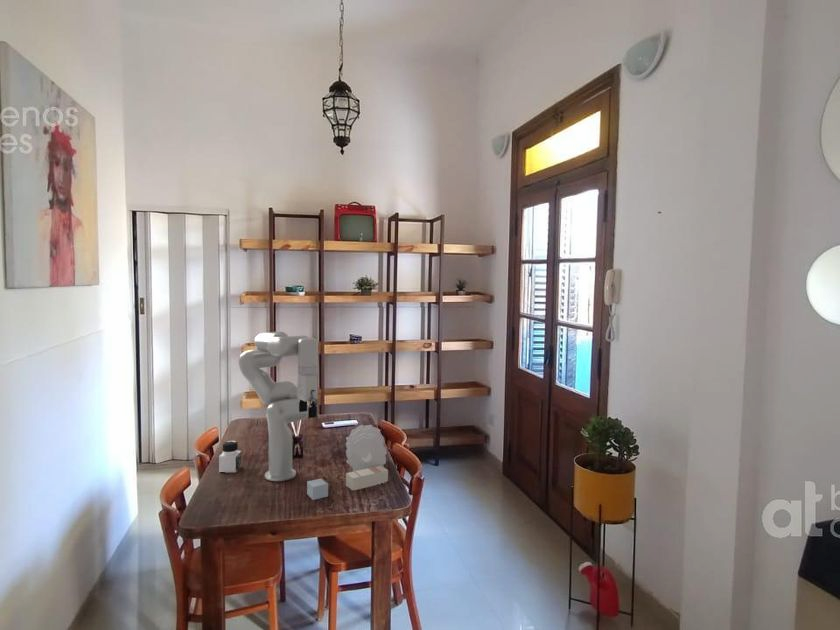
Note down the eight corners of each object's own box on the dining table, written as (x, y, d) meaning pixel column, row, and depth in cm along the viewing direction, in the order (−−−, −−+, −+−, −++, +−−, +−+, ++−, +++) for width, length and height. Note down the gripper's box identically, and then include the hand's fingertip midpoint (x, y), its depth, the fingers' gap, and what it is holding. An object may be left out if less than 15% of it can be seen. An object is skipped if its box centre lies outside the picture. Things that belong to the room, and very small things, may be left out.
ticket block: (345, 485, 197) (346, 472, 197) (380, 477, 206) (380, 465, 206) (352, 490, 193) (352, 478, 192) (387, 482, 201) (388, 469, 201)
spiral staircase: (373, 466, 230) (377, 485, 205) (338, 451, 227) (338, 468, 202) (390, 430, 231) (396, 445, 206) (356, 415, 228) (358, 428, 203)
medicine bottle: (236, 472, 208) (235, 444, 208) (218, 472, 208) (218, 444, 207) (241, 466, 216) (241, 439, 215) (224, 466, 215) (224, 439, 214)
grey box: (307, 494, 188) (307, 481, 188) (321, 490, 192) (321, 477, 191) (313, 500, 183) (313, 486, 183) (328, 496, 187) (328, 483, 186)
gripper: (290, 367, 194) (290, 410, 195) (306, 375, 179) (306, 421, 180) (308, 366, 198) (308, 408, 199) (326, 373, 184) (325, 418, 185)
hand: (307, 414), depth 190 cm, fingers open, 9 cm apart
